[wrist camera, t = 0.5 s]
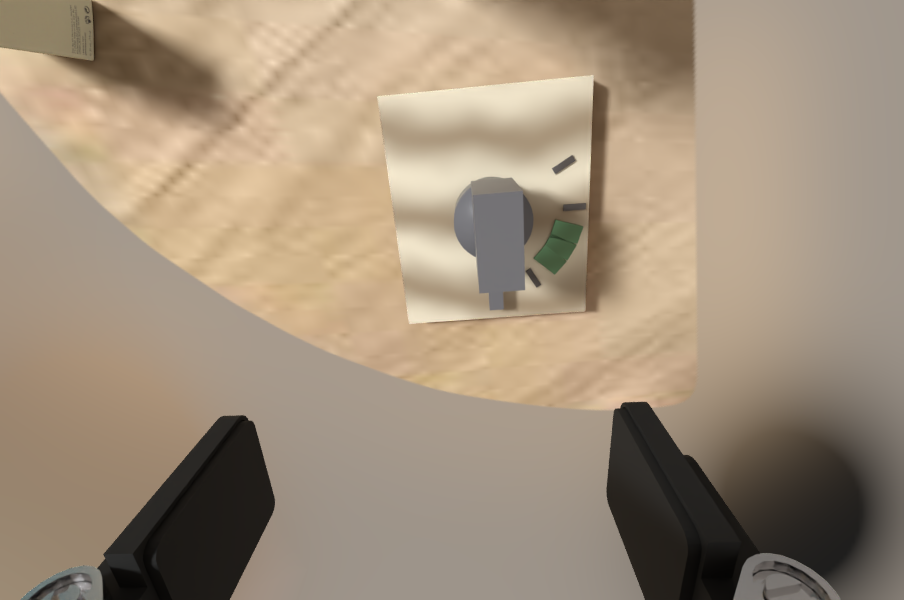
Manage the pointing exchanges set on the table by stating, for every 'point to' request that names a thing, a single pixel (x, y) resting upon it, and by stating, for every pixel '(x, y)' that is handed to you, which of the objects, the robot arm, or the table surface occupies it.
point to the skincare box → (48, 27)
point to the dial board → (490, 155)
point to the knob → (495, 234)
